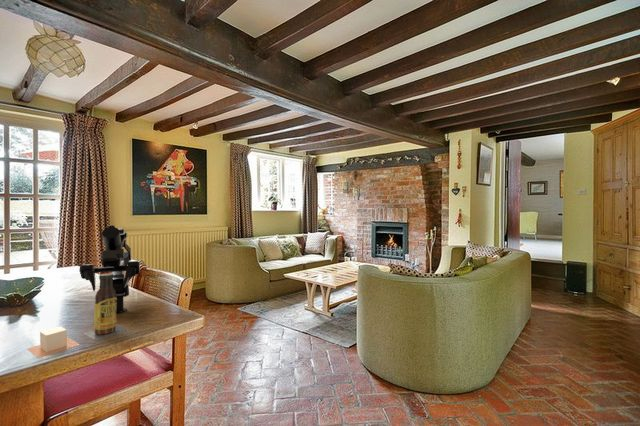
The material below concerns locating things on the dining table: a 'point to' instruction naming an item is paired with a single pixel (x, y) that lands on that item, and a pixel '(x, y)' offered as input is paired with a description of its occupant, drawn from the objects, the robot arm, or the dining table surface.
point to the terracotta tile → (40, 352)
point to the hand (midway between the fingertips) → (109, 288)
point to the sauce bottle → (105, 306)
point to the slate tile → (98, 337)
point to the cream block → (53, 339)
